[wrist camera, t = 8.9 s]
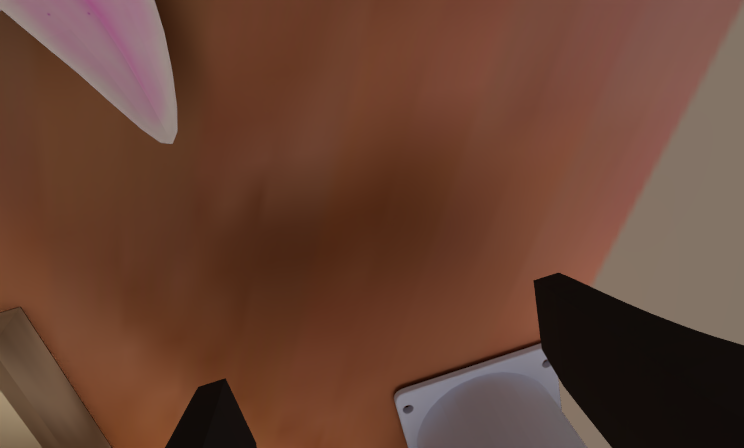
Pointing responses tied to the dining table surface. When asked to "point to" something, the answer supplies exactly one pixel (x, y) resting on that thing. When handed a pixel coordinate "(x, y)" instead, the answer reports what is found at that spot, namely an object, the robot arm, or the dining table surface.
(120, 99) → the lily
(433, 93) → the dining table surface
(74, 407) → the beech base
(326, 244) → the dining table surface
